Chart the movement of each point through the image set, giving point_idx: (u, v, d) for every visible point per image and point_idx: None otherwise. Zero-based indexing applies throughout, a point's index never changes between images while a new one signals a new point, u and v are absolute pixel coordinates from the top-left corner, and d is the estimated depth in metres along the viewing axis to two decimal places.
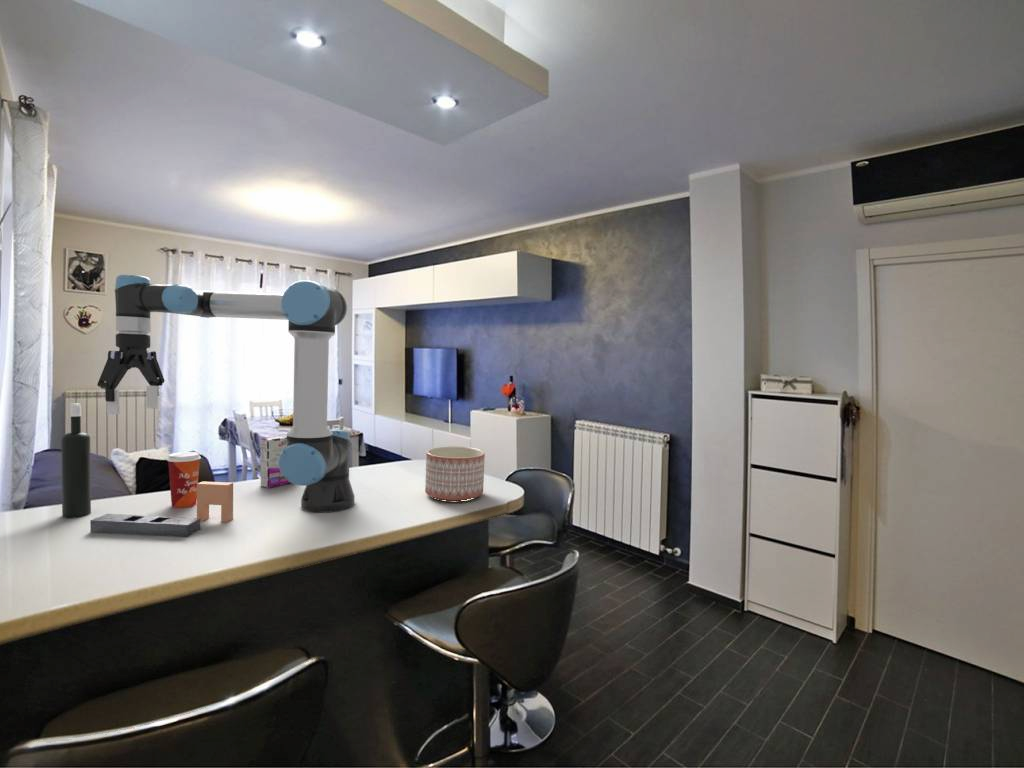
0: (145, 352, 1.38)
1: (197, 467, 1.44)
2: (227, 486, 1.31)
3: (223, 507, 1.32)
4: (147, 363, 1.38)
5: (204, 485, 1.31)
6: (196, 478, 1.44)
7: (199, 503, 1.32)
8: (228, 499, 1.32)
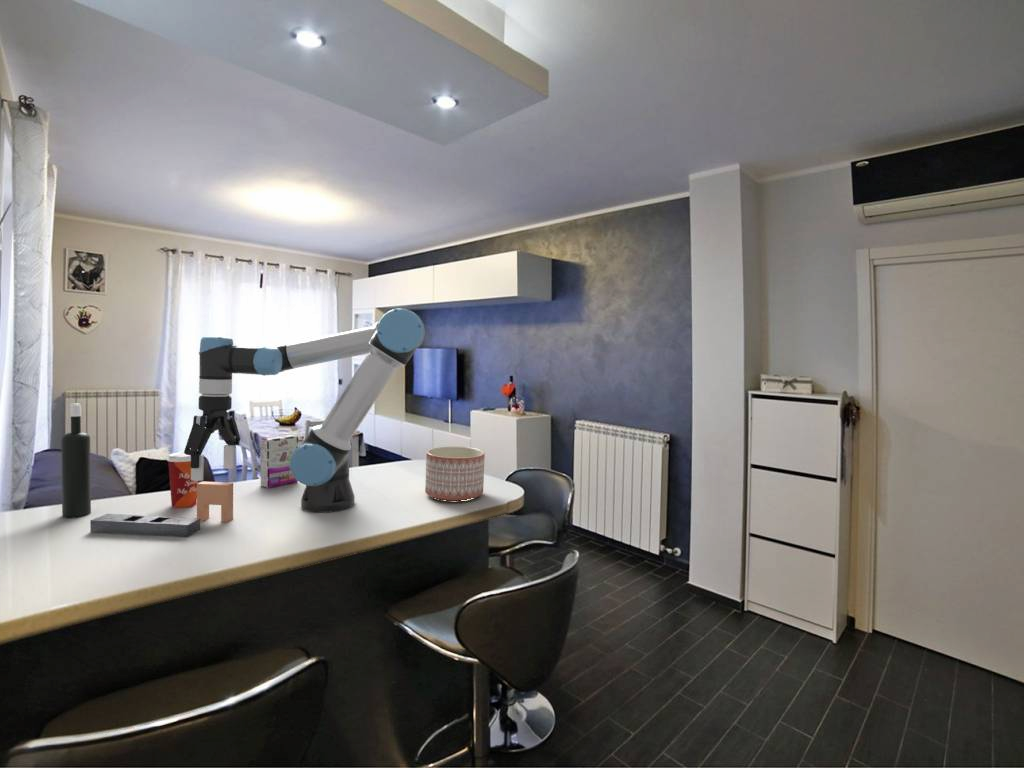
0: (225, 413, 1.34)
1: None
2: (227, 486, 1.31)
3: (223, 507, 1.32)
4: (227, 424, 1.34)
5: (204, 485, 1.31)
6: None
7: (199, 503, 1.32)
8: (228, 499, 1.32)
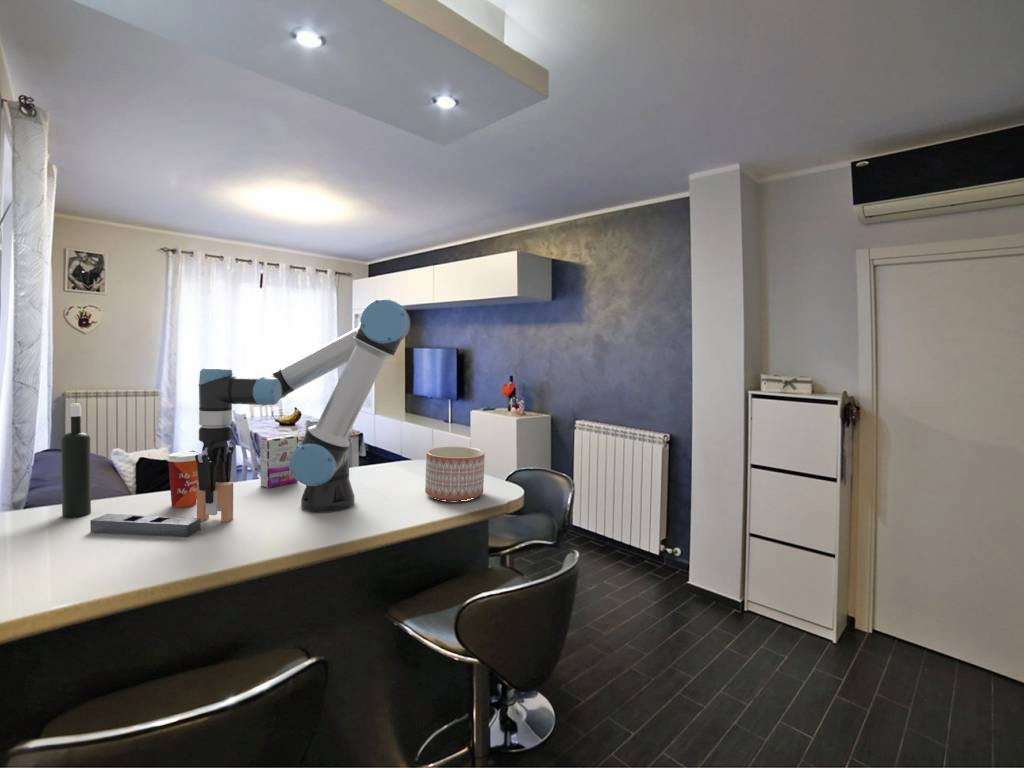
0: (226, 443, 1.35)
1: None
2: (227, 486, 1.31)
3: (223, 507, 1.32)
4: (225, 457, 1.34)
5: None
6: (196, 478, 1.44)
7: (199, 503, 1.32)
8: (228, 499, 1.32)
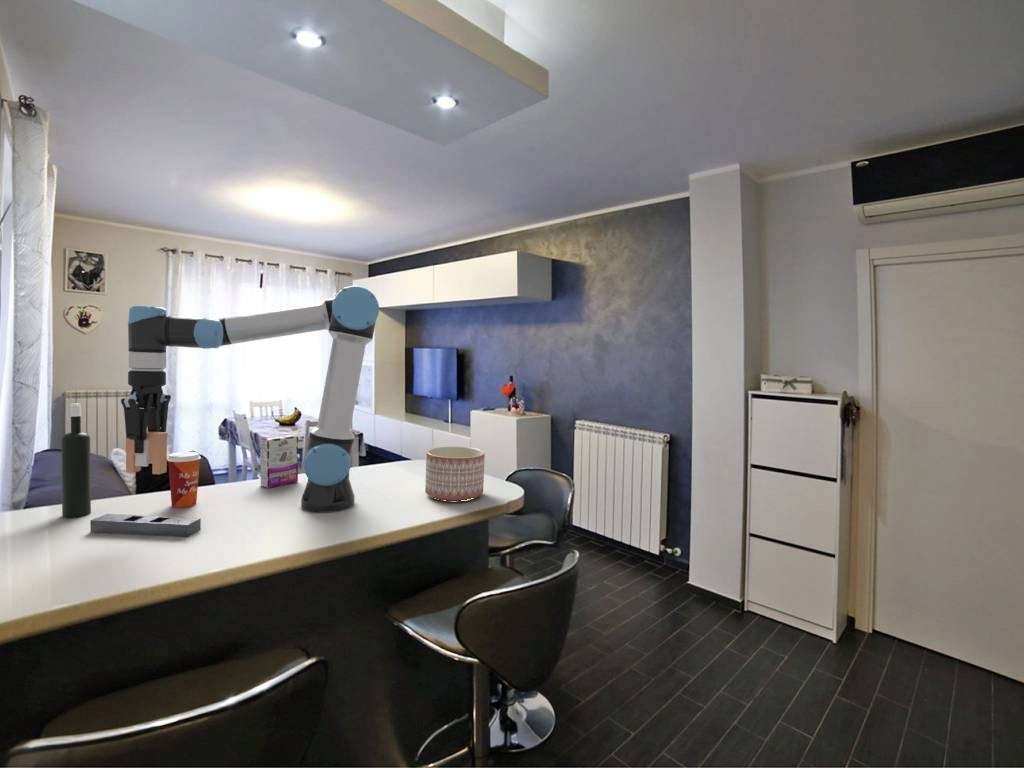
0: (161, 390, 1.25)
1: (197, 467, 1.44)
2: (159, 435, 1.21)
3: (154, 458, 1.21)
4: (158, 405, 1.23)
5: None
6: (196, 478, 1.44)
7: (129, 453, 1.21)
8: (160, 449, 1.21)
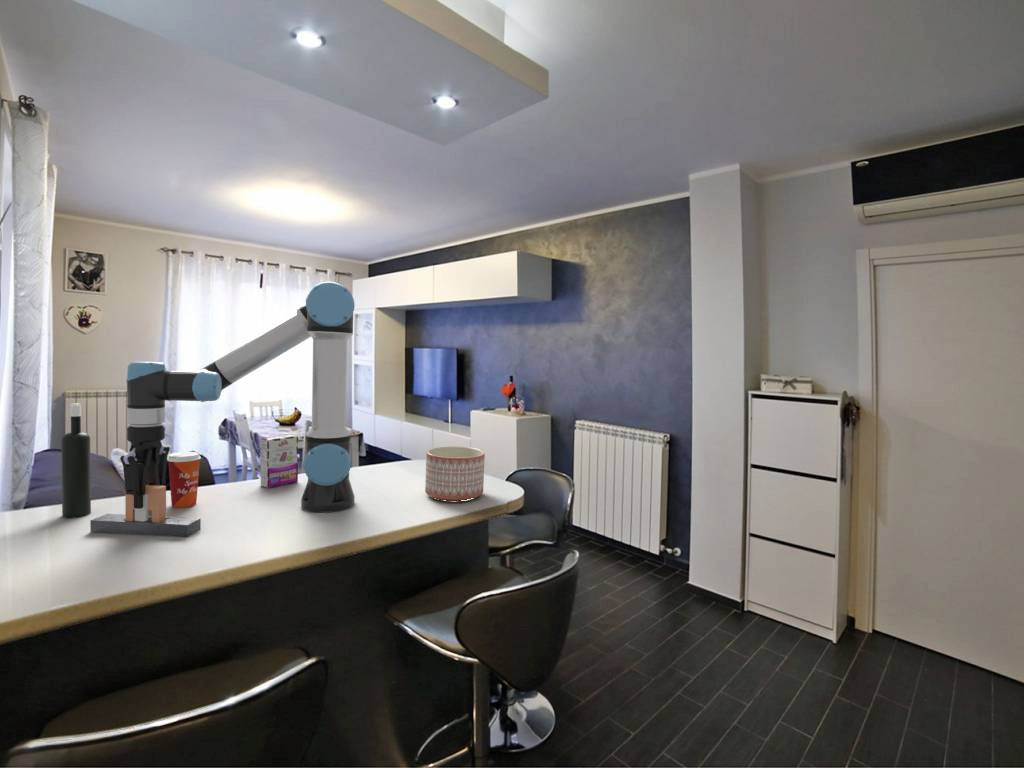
0: (160, 443, 1.25)
1: (197, 467, 1.44)
2: (158, 490, 1.21)
3: (154, 512, 1.22)
4: (157, 458, 1.24)
5: None
6: (196, 478, 1.44)
7: (128, 508, 1.22)
8: (160, 504, 1.22)
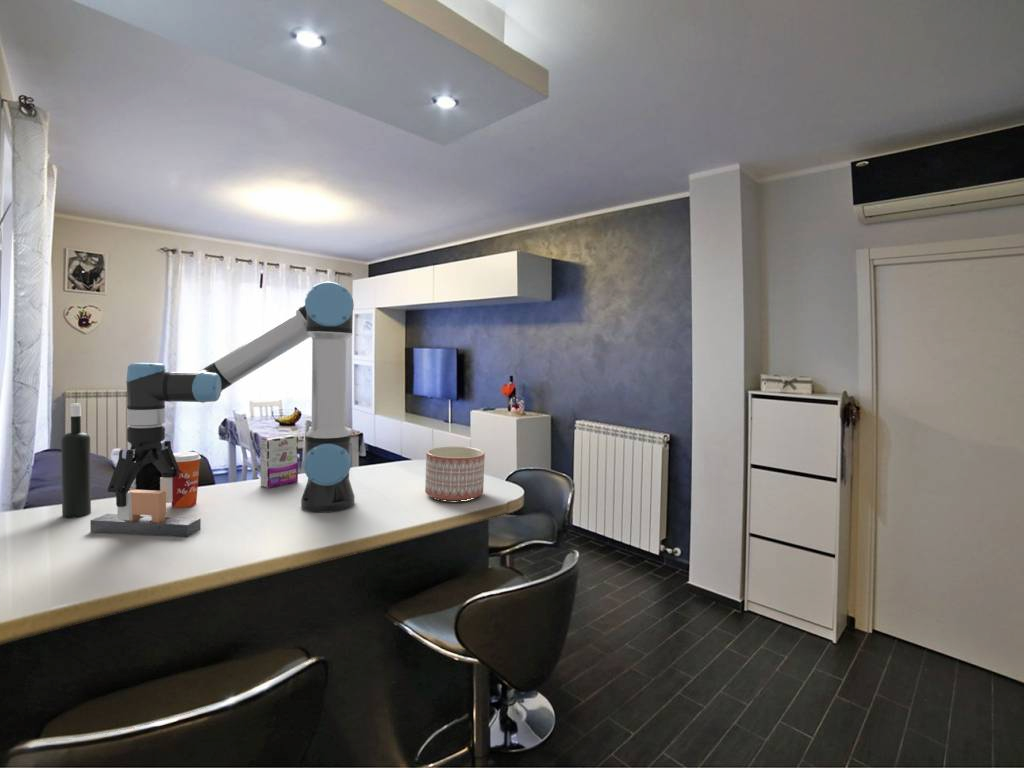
0: (159, 444, 1.25)
1: (197, 467, 1.44)
2: (158, 495, 1.21)
3: (154, 517, 1.22)
4: (161, 456, 1.25)
5: (133, 494, 1.22)
6: (196, 478, 1.44)
7: None
8: (160, 509, 1.22)
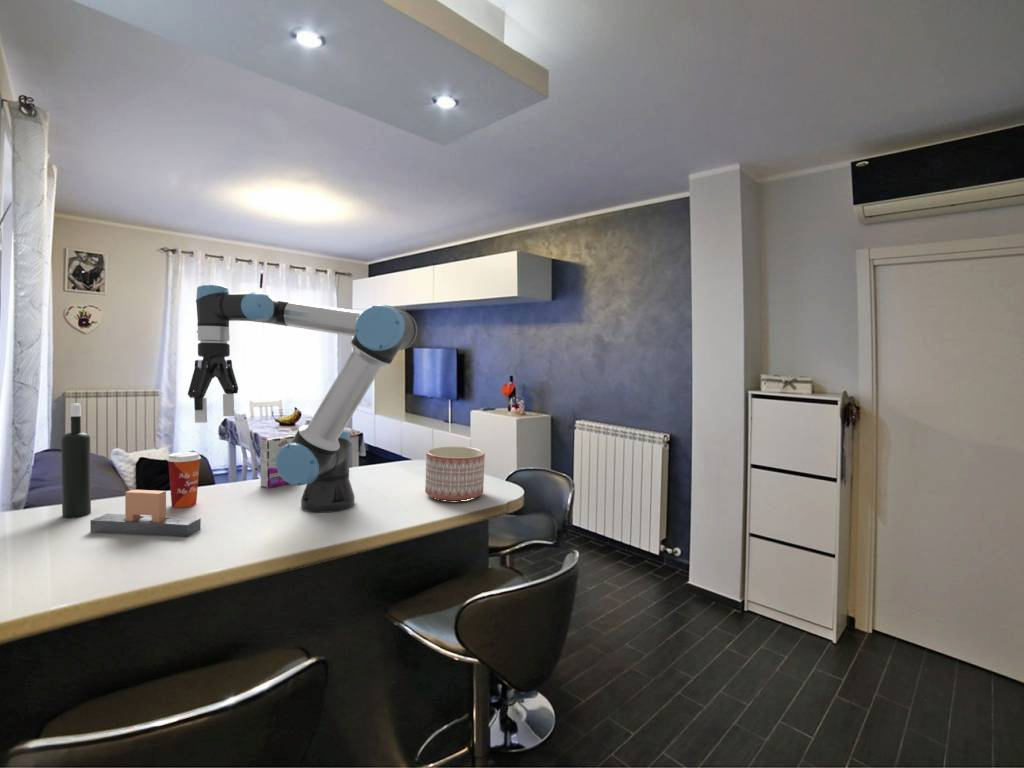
0: (224, 361, 1.39)
1: (197, 467, 1.44)
2: (158, 495, 1.21)
3: (154, 517, 1.22)
4: (226, 371, 1.39)
5: (133, 494, 1.22)
6: (196, 478, 1.44)
7: (128, 513, 1.22)
8: (160, 509, 1.22)
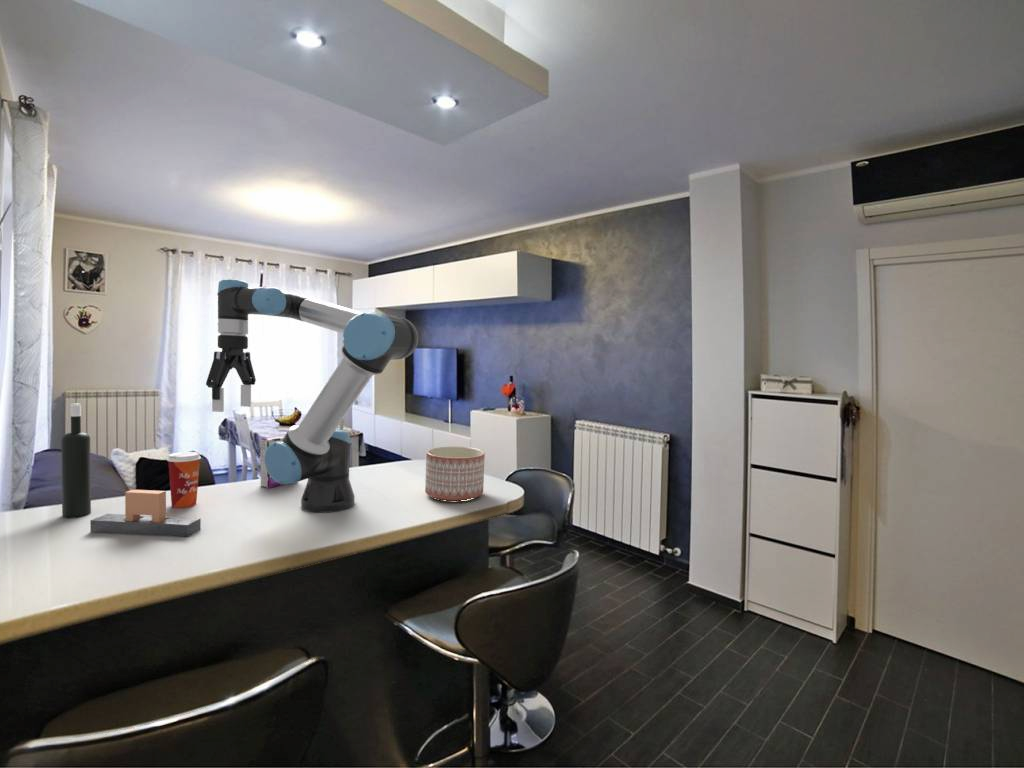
0: (242, 353, 1.44)
1: (197, 467, 1.44)
2: (158, 495, 1.21)
3: (154, 517, 1.22)
4: (244, 363, 1.44)
5: (133, 494, 1.21)
6: (196, 478, 1.44)
7: (128, 513, 1.22)
8: (160, 509, 1.22)
